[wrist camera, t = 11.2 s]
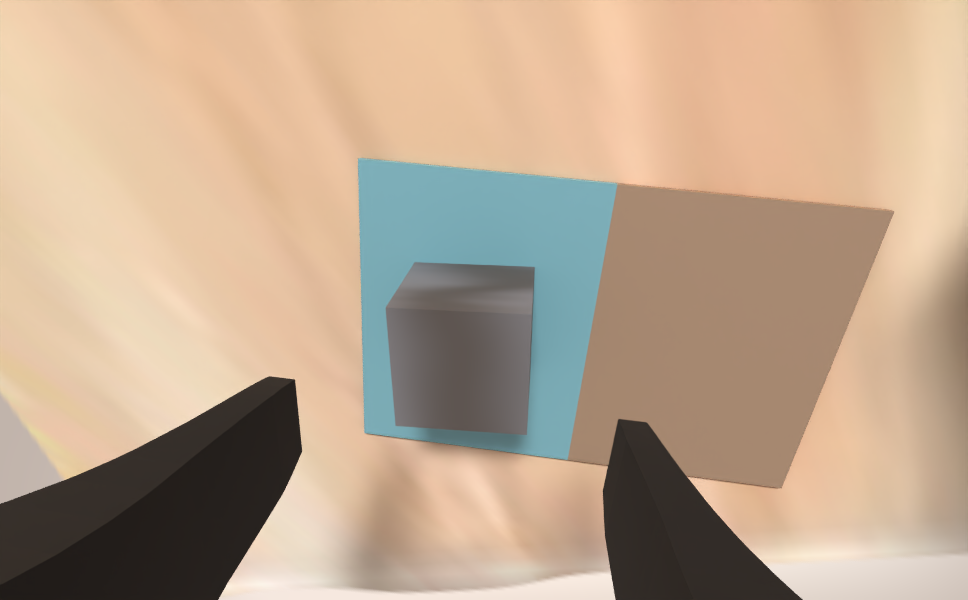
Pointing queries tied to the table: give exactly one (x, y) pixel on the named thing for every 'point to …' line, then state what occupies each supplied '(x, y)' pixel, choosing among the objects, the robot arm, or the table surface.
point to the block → (462, 347)
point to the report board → (631, 307)
